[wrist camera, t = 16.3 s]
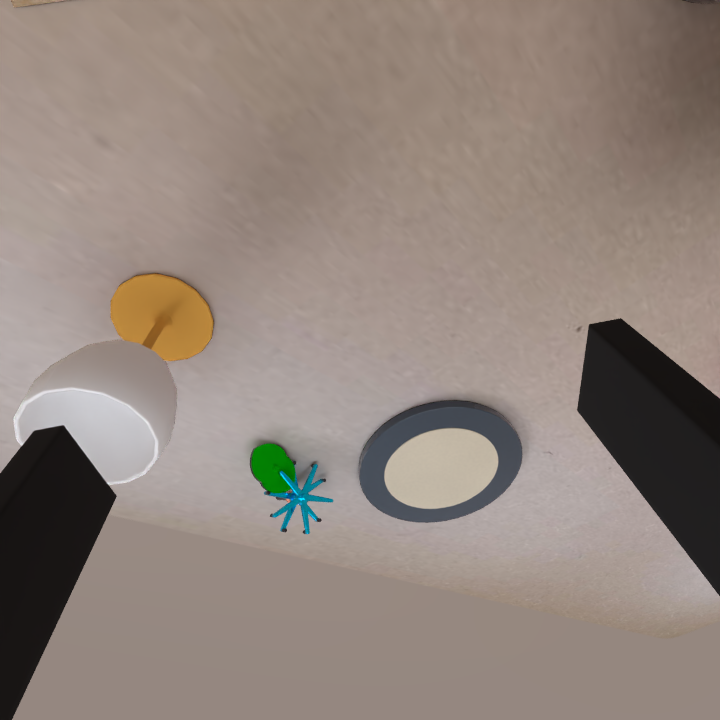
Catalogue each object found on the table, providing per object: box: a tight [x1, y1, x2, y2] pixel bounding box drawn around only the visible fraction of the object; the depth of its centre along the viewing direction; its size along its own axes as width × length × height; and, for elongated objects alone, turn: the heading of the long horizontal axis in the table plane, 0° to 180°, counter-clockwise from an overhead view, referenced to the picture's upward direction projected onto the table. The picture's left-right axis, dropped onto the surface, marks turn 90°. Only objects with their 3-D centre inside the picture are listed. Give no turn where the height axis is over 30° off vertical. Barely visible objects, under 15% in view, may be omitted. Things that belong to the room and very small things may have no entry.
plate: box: [359, 401, 522, 523], centre depth 54 cm, size 20×20×1 cm
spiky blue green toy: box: [250, 444, 333, 534], centre depth 52 cm, size 12×7×8 cm
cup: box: [13, 273, 214, 485], centre depth 34 cm, size 9×9×16 cm
